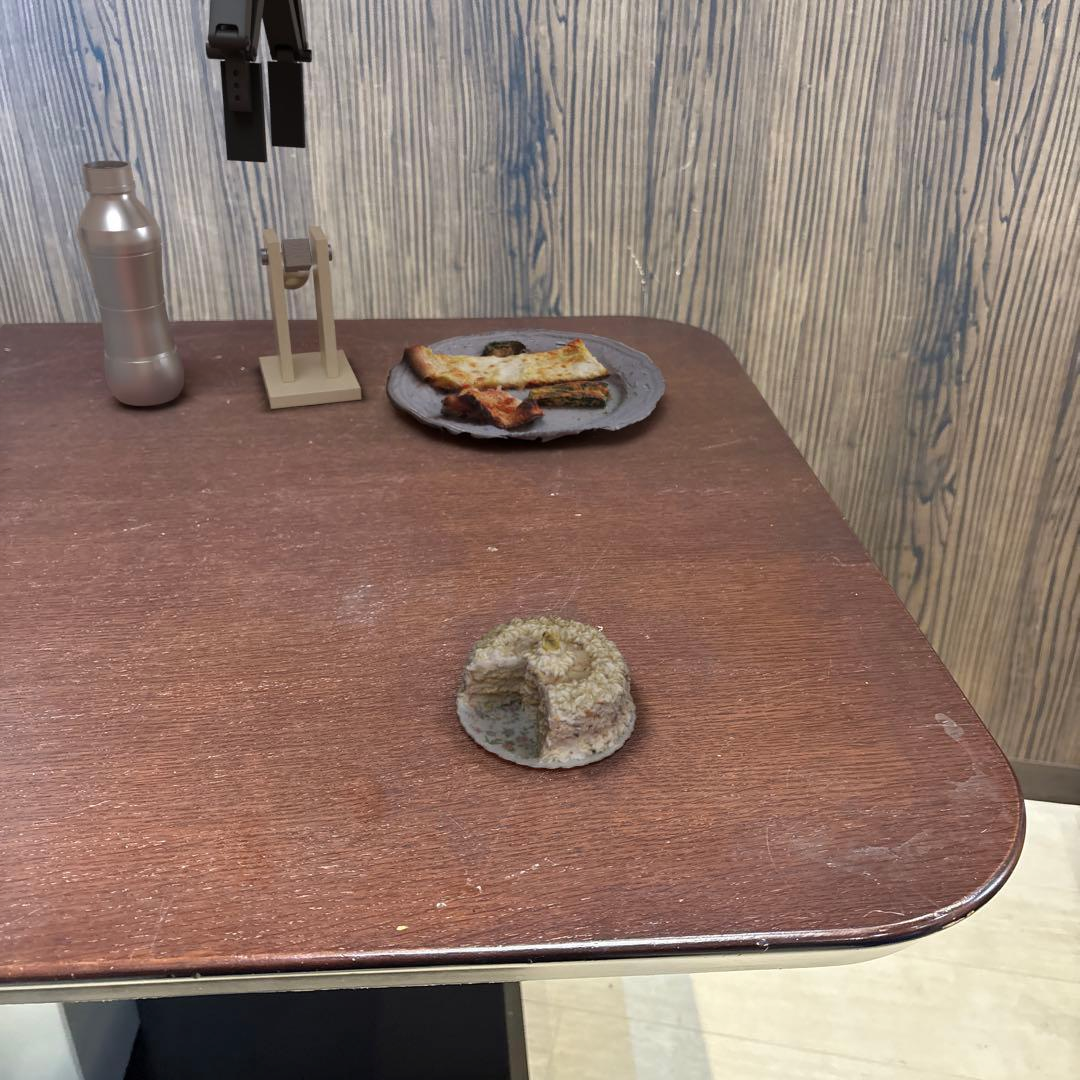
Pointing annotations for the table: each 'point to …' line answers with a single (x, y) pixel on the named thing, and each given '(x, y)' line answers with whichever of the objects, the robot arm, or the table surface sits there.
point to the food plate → (525, 384)
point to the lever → (295, 262)
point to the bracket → (328, 369)
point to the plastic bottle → (128, 287)
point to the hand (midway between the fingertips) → (269, 154)
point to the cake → (546, 693)
